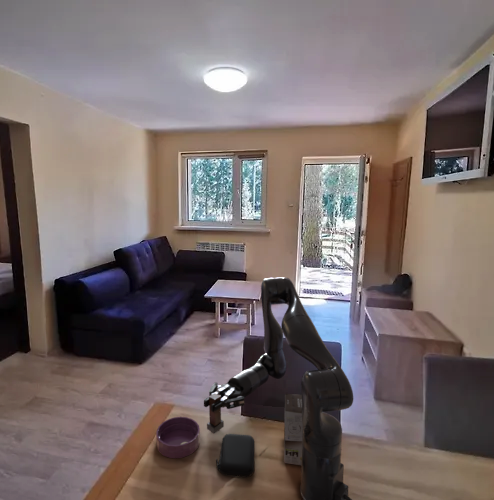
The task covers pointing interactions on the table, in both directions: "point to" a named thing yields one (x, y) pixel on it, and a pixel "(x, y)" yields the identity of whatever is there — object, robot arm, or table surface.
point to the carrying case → (236, 455)
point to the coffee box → (293, 429)
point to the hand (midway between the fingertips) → (208, 406)
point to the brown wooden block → (214, 415)
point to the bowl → (178, 437)
